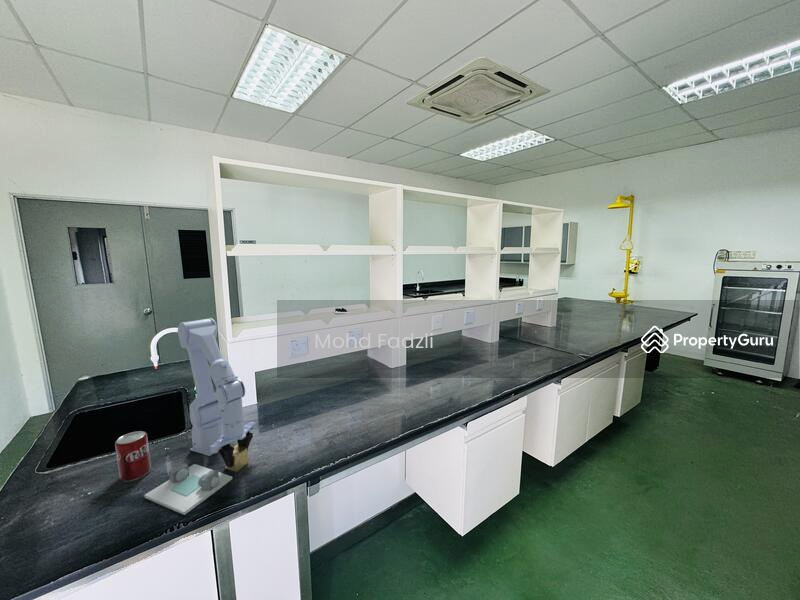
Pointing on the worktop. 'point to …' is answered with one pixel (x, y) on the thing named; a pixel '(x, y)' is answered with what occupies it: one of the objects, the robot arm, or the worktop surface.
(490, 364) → the worktop surface
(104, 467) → the worktop surface
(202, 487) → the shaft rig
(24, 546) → the worktop surface
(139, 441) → the soda can
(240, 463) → the block
